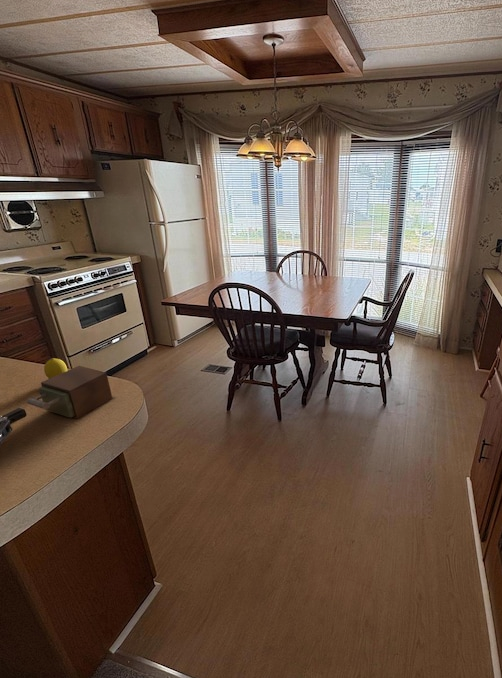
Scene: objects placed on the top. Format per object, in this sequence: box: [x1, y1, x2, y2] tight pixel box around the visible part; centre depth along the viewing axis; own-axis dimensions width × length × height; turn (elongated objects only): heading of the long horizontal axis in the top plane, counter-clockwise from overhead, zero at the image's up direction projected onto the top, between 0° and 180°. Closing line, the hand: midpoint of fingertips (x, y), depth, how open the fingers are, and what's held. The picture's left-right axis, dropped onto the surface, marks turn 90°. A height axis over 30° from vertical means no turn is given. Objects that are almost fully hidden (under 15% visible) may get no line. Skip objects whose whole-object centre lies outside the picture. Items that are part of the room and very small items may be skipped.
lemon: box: [43, 357, 68, 379], centre depth 106 cm, size 6×6×8 cm
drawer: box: [26, 385, 75, 418], centre depth 92 cm, size 14×9×7 cm
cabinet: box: [40, 365, 113, 419], centre depth 95 cm, size 11×11×9 cm
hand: (23, 411), depth 83 cm, fingers closed
